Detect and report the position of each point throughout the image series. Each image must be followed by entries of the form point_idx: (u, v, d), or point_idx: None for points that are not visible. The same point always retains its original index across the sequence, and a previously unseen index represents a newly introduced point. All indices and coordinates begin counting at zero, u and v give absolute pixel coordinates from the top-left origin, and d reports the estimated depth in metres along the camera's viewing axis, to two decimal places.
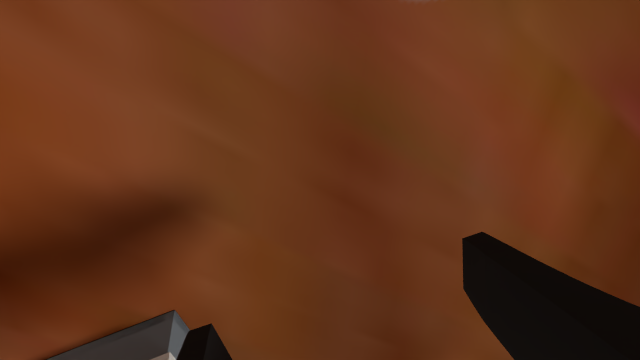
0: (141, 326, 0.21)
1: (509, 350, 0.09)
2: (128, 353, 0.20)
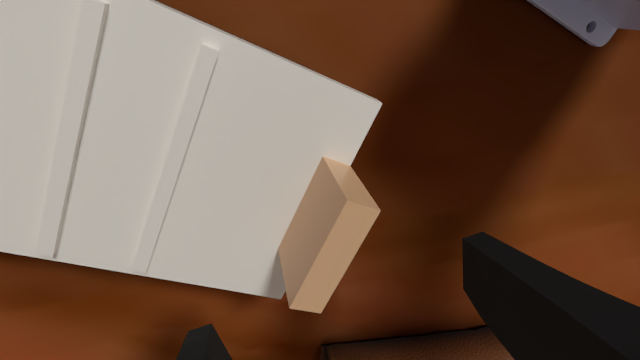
0: None
1: (509, 349, 0.09)
2: None
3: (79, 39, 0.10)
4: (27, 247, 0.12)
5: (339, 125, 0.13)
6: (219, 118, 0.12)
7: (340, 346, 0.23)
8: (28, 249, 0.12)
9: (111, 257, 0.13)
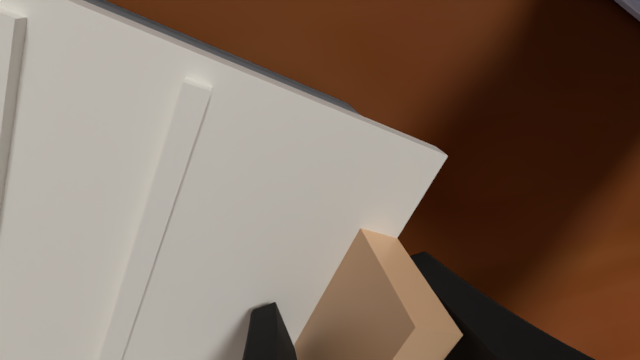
0: None
1: None
2: None
3: None
4: None
5: (386, 187, 0.09)
6: (213, 185, 0.08)
7: None
8: None
9: None
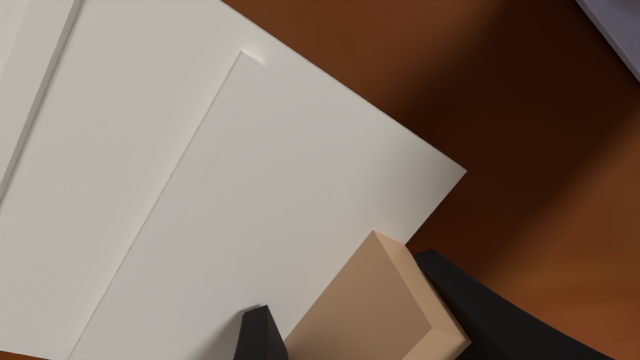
0: None
1: None
2: None
3: (35, 8, 0.05)
4: None
5: (405, 192, 0.09)
6: (243, 163, 0.08)
7: None
8: None
9: (38, 338, 0.09)
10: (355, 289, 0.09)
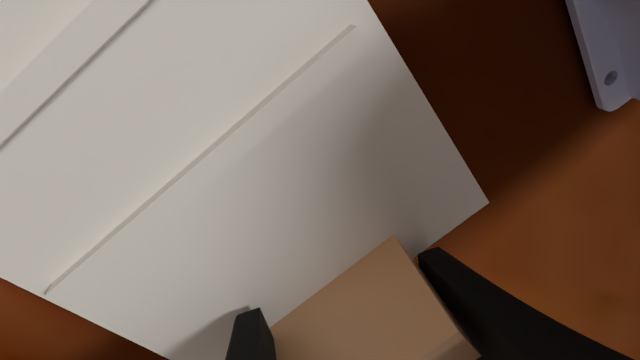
0: None
1: None
2: None
3: None
4: None
5: (433, 206, 0.10)
6: (307, 133, 0.08)
7: None
8: None
9: (20, 261, 0.08)
10: (367, 287, 0.09)
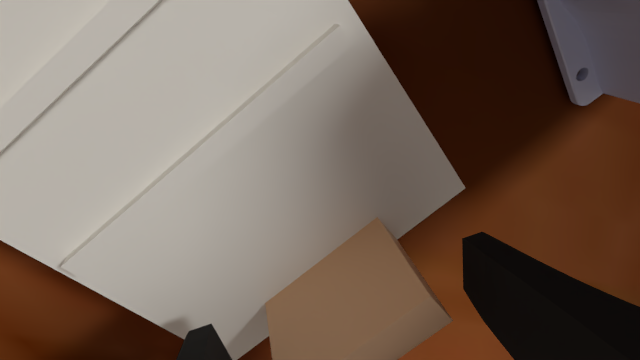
0: None
1: (509, 350, 0.09)
2: None
3: None
4: None
5: (413, 191, 0.11)
6: (297, 121, 0.09)
7: None
8: None
9: (37, 235, 0.09)
10: (353, 263, 0.10)
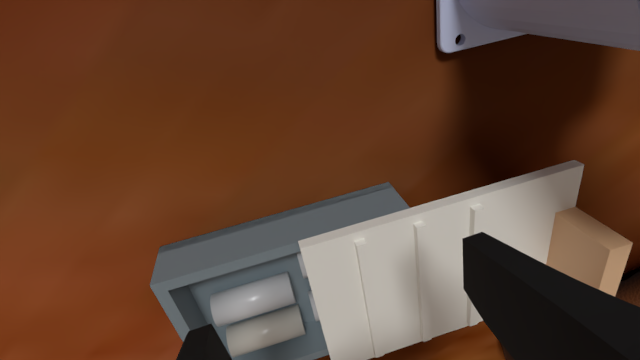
0: None
1: (509, 350, 0.09)
2: None
3: (420, 246, 0.18)
4: (414, 339, 0.22)
5: (560, 192, 0.19)
6: (489, 232, 0.19)
7: None
8: (415, 340, 0.22)
9: (454, 323, 0.22)
10: (566, 241, 0.19)
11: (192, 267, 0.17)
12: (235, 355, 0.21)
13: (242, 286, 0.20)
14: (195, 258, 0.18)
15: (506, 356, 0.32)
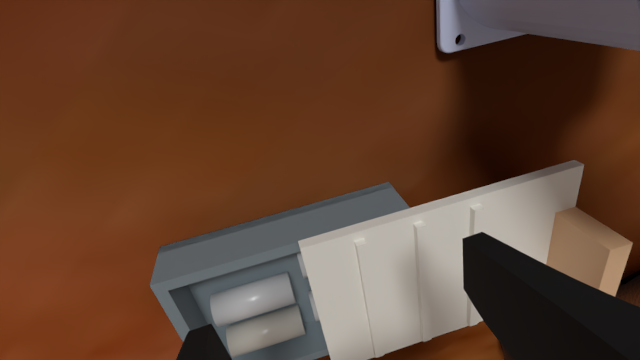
0: None
1: (509, 350, 0.09)
2: None
3: (420, 246, 0.18)
4: (414, 339, 0.22)
5: (560, 192, 0.19)
6: (489, 232, 0.19)
7: None
8: (415, 340, 0.22)
9: (454, 323, 0.22)
10: (566, 241, 0.19)
11: (192, 267, 0.17)
12: (235, 355, 0.21)
13: (242, 286, 0.20)
14: (195, 258, 0.18)
15: (505, 358, 0.32)
